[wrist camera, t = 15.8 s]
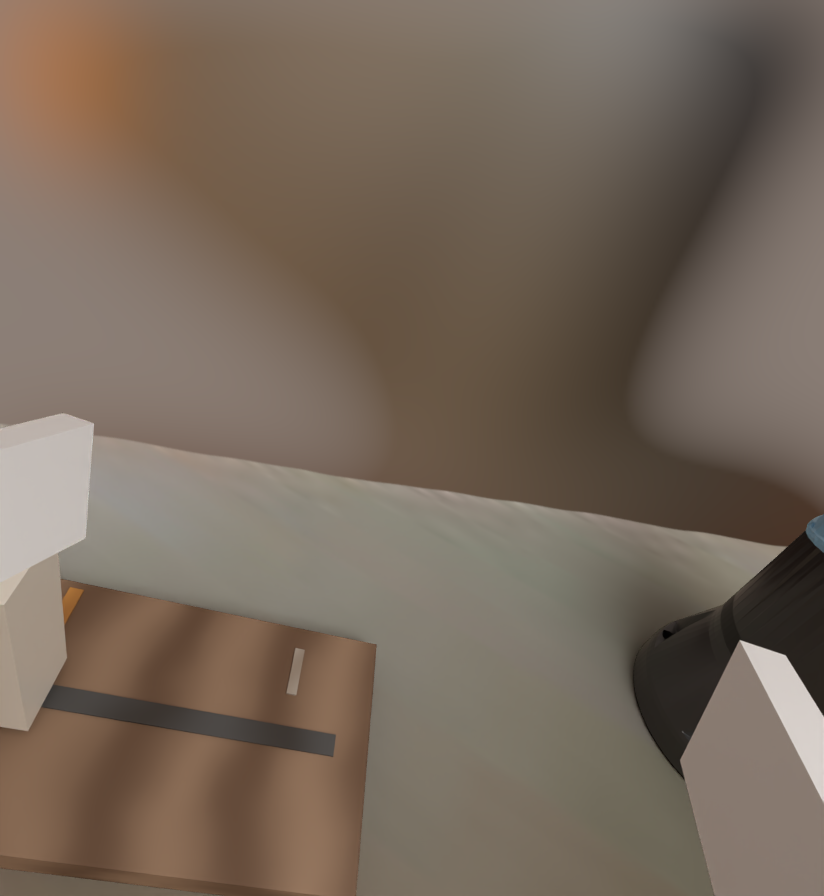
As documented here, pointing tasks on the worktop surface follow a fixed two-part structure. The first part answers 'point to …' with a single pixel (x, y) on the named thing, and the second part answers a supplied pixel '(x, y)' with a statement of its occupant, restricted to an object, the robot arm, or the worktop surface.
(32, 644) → the fader tab
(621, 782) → the worktop surface
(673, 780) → the worktop surface
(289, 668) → the board
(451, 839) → the worktop surface
